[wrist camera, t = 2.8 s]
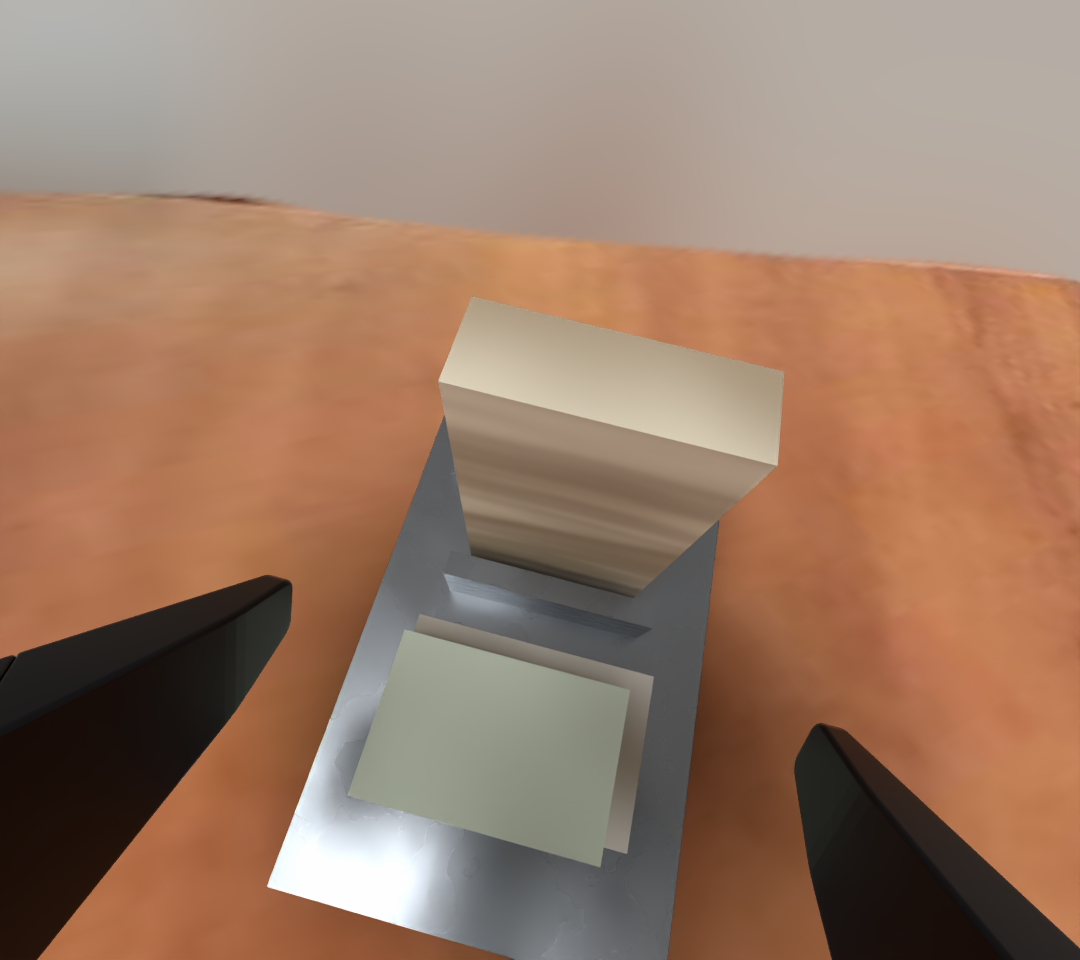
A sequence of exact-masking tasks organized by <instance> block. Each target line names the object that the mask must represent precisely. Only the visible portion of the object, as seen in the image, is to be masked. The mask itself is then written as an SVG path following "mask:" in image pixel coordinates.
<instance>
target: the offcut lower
mask: <svg viewBox="0 0 1080 960" xmlns="http://www.w3.org/2000/svg"><path fill="white" fill-rule="evenodd" d="M414 632H416V633H420V634H424V635H427V636H431V637H435V638H438V639H442V640H446V641H450V642H453V643H457V644H461V645H464V646H468V647H472V648H476V649H479V650H483V651H487V652H490V653H494V654H498V655H502V656H505V657H509V658H513V659H516V660H520V661H524V662H528V663H531V664H535V665H539V666H542V667H546V668H550V669H554V670H557V671H561V672H565V673H568V674H572V675H576V676H580V677H583V678H587V679H591V680H594V681H598V682H602V683H606V684H609V685H613V686H617V687H620V688H624V689H628V690H630V694H629V700H628V706H627V712H626V718H625V723H624V729H623V735H622V741H621V747H620V753H619V759H618V765H617V771H616V777H615V783H614V789H613V795H612V801H611V807H610V813H609V819H608V825H607V831H606V837H605V843H604V848H607V849H611V850H615V851H618V852H622V853H625V854H627V851H628V844H629V837H630V831H631V824H632V818H633V811H634V804H635V798H636V791H637V785H638V778H639V772H640V765H641V758H642V752H643V745H644V739H645V732H646V726H647V719H648V712H649V706H650V699H651V693H652V686H653V679H654V677H653V676H650V675H646V674H642V673H638V672H635V671H631V670H627V669H623V668H620V667H616V666H612V665H608V664H605V663H601V662H597V661H594V660H590V659H586V658H582V657H579V656H575V655H571V654H567V653H564V652H560V651H556V650H552V649H549V648H545V647H541V646H538V645H534V644H530V643H526V642H523V641H519V640H515V639H511V638H508V637H504V636H500V635H496V634H493V633H489V632H485V631H481V630H478V629H474V628H470V627H467V626H463V625H459V624H455V623H452V622H448V621H444V620H440V619H437V618H433V617H429V616H425V615H422V614H419V617H418V620H417V623H416V626H415V629H414Z"/></svg>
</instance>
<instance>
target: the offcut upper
mask: <svg viewBox="0 0 1080 960" xmlns="http://www.w3.org/2000/svg"><path fill="white" fill-rule="evenodd" d="M629 694H630V690H628V689H624V688H620V687H617V686H613V685H609V684H606V683H602V682H598V681H594V680H591V679H587V678H583V677H580V676H576V675H572V674H568V673H565V672H561V671H557V670H554V669H550V668H546V667H542V666H539V665H535V664H531V663H528V662H524V661H520V660H516V659H513V658H509V657H505V656H502V655H498V654H494V653H490V652H487V651H483V650H479V649H476V648H472V647H468V646H464V645H461V644H457V643H453V642H450V641H446V640H442V639H438V638H435V637H431V636H427V635H424V634H420V633H416V632H412V631H409V630H404V633H403V636H402V638H401V641H400V644H399V647H398V650H397V653H396V656H395V659H394V662H393V664H392V667H391V670H390V673H389V676H388V679H387V682H386V685H385V688H384V691H383V693H382V696H381V699H380V702H379V705H378V708H377V711H376V714H375V717H374V719H373V722H372V725H371V728H370V731H369V734H368V737H367V740H366V743H365V746H364V748H363V751H362V754H361V757H360V760H359V763H358V766H357V769H356V772H355V774H354V777H353V780H352V783H351V786H350V789H349V792H348V795H347V796H350V797H354V798H358V799H361V800H365V801H368V802H372V803H375V804H379V805H382V806H386V807H389V808H393V809H396V810H400V811H403V812H407V813H410V814H414V815H417V816H421V817H424V818H428V819H432V820H435V821H439V822H442V823H446V824H449V825H453V826H456V827H460V828H463V829H467V830H470V831H474V832H477V833H481V834H484V835H488V836H491V837H495V838H498V839H502V840H506V841H509V842H513V843H516V844H520V845H523V846H527V847H530V848H534V849H537V850H541V851H544V852H548V853H551V854H555V855H558V856H562V857H565V858H569V859H572V860H576V861H580V862H583V863H587V864H590V865H594V866H597V867H601V861H602V855H603V849H604V843H605V837H606V831H607V825H608V819H609V813H610V807H611V801H612V795H613V789H614V783H615V777H616V771H617V765H618V759H619V753H620V747H621V741H622V735H623V729H624V723H625V718H626V712H627V706H628V700H629Z"/></svg>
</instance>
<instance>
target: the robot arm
mask: <svg viewBox="0 0 1080 960" xmlns="http://www.w3.org/2000/svg"><path fill="white" fill-rule="evenodd" d="M291 606H292V584H291V582H290V581H289V580H287V579H283V578H279V577H276V576H272V575H264V576H261V577H258V578H255V579H251V580H248V581H245V582H242V583H239V584H236V585H233V586H229V587H226V588H223V589H220V590H217V591H214V592H210V593H207V594H204V595H201V596H198V597H195V598H191V599H188V600H185V601H182V602H179V603H176V604H172V605H169V606H166V607H163V608H160V609H157V610H153V611H150V612H147V613H144V614H141V615H138V616H134V617H131V618H128V619H125V620H122V621H119V622H115V623H112V624H109V625H106V626H103V627H100V628H96V629H93V630H90V631H87V632H84V633H81V634H77V635H74V636H71V637H68V638H65V639H62V640H58V641H55V642H52V643H49V644H46V645H43V646H39V647H36V648H33V649H30V650H27V651H24V652H21V653H19V654H18V655H17V656H16V657H15V656H13V655H11V656H7V657H4V658H1V659H0V960H37V959H38V958H39V957H40V955H41V954H42V953H43V952H44V950H45V949H46V948H47V947H48V945H49V944H50V943H51V942H52V940H53V939H54V938H55V937H56V935H57V934H58V933H59V932H60V930H61V929H62V928H63V927H64V925H65V924H66V923H67V922H68V920H69V919H70V918H71V917H72V915H73V914H74V913H75V912H76V910H77V909H78V908H79V907H80V905H81V904H82V903H83V902H84V900H85V899H86V898H87V897H88V895H89V894H90V893H91V892H92V890H93V889H94V888H95V887H96V885H97V884H98V883H99V882H100V880H101V879H102V878H103V877H104V875H105V874H106V873H107V872H108V870H109V869H110V868H111V867H112V865H113V864H114V863H115V862H116V860H117V859H118V858H119V857H120V855H121V854H122V853H123V852H124V850H125V849H126V848H127V847H128V845H129V844H130V843H131V842H132V841H133V839H134V838H135V837H136V836H137V834H138V833H139V832H140V831H141V829H142V828H143V827H144V826H145V824H146V823H147V822H148V821H149V819H150V818H151V817H152V816H153V814H154V813H155V812H156V811H157V809H158V808H159V807H160V806H161V804H162V803H163V802H164V801H165V799H166V798H167V797H168V796H169V794H170V793H171V792H172V791H173V789H174V788H175V787H176V786H177V784H178V783H179V782H180V781H181V779H182V778H183V777H184V776H185V774H186V773H187V772H188V771H189V769H190V768H191V767H192V766H193V764H194V763H195V762H196V761H197V759H198V758H199V757H200V756H201V754H202V753H203V752H204V751H205V749H206V748H207V747H208V746H209V744H210V743H211V742H212V741H213V739H214V738H215V737H216V736H217V734H218V733H219V732H220V731H221V729H222V728H223V727H224V726H225V724H226V723H227V722H228V720H229V719H230V718H231V716H232V715H233V714H234V713H235V711H236V710H237V708H238V707H239V705H240V704H241V702H242V701H243V700H244V698H245V696H246V695H247V693H248V692H249V690H250V689H251V687H252V686H253V684H254V683H255V681H256V679H257V678H258V676H259V675H260V673H261V672H262V670H263V669H264V667H265V665H266V664H267V662H268V661H269V659H270V658H271V656H272V655H273V653H274V652H275V650H276V648H277V647H278V645H279V644H280V642H281V641H282V639H283V638H284V636H285V634H286V633H287V630H288V628H289V625H290V621H291ZM794 773H795V780H796V787H797V793H798V800H799V806H800V813H801V820H802V826H803V833H804V839H805V846H806V852H807V858H808V864H809V869H810V874H811V878H812V883H813V887H814V891H815V895H816V899H817V903H818V907H819V911H820V915H821V919H822V923H823V927H824V931H825V935H826V939H827V942H828V946H829V950H830V954H831V958H832V960H1080V948H1079V947H1078V946H1077V945H1076V944H1075V943H1074V942H1073V941H1071V940H1070V939H1069V938H1068V937H1067V936H1066V935H1065V934H1064V933H1063V932H1062V931H1061V930H1060V929H1059V928H1057V927H1056V926H1055V925H1054V924H1053V923H1052V922H1051V921H1050V920H1049V919H1048V918H1047V917H1046V916H1045V915H1043V914H1042V913H1041V912H1040V911H1039V910H1038V909H1037V908H1036V907H1035V906H1034V905H1033V904H1032V903H1031V902H1030V901H1028V900H1027V899H1026V898H1025V897H1024V896H1023V895H1022V894H1021V893H1020V892H1019V891H1018V890H1017V889H1016V888H1014V887H1013V886H1012V885H1011V884H1010V883H1009V882H1008V881H1007V880H1006V879H1005V878H1004V877H1003V876H1002V875H1000V874H999V873H998V872H997V871H996V870H995V869H994V868H993V867H992V866H991V865H990V864H989V863H988V862H987V861H985V860H984V859H983V858H982V857H981V856H980V855H979V854H978V853H977V852H976V851H975V850H974V849H973V848H971V847H970V846H969V845H968V844H967V843H966V842H965V841H964V840H963V839H962V838H961V837H960V836H959V835H957V834H956V833H955V832H954V831H953V830H952V829H951V828H950V827H949V826H948V825H947V824H946V823H945V822H944V821H942V820H941V819H940V818H939V817H938V816H937V815H936V814H935V813H934V812H933V811H932V810H931V809H930V808H928V807H927V806H926V805H925V804H924V803H923V802H922V801H921V800H920V799H919V798H918V797H917V796H916V795H915V794H913V793H912V792H911V791H910V790H909V789H908V788H907V787H906V786H905V785H904V784H903V783H902V782H901V781H899V780H898V779H897V778H896V777H895V776H894V775H893V774H892V773H891V772H890V771H889V770H888V769H887V768H886V767H884V766H883V765H882V764H881V763H880V762H879V761H878V760H877V759H876V758H875V757H874V756H873V755H872V754H870V753H869V752H868V751H867V750H866V749H865V748H864V747H863V746H862V745H861V744H860V743H859V742H858V741H856V740H855V739H854V738H853V737H852V736H851V735H850V734H849V733H848V732H847V731H845V730H844V729H842V728H838V727H834V726H831V725H827V724H823V723H819V724H816V725H815V726H814V727H813V728H812V730H811V731H810V733H809V735H808V737H807V739H806V741H805V742H804V744H803V746H802V748H801V750H800V752H799V754H798V755H797V758H796V761H795V766H794Z"/></svg>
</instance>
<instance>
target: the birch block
mask: <svg viewBox="0 0 1080 960" xmlns="http://www.w3.org/2000/svg"><path fill="white" fill-rule="evenodd" d="M438 382H439V388H440V393H441V398H442V403H443V409H444V414H445V419H446V425H447V430H448V435H449V440H450V446H451V451H452V456H453V461H454V467H455V472H456V477H457V483H458V488H459V493H460V498H461V504H462V509H463V514H464V520H465V525H466V530H467V535H468V541H469V546H470V551H471V556H475V557H478V558H482V559H486V560H490V561H494V562H497V563H501V564H505V565H509V566H513V567H517V568H520V569H524V570H528V571H532V572H536V573H539V574H543V575H547V576H551V577H555V578H559V579H562V580H566V581H570V582H574V583H578V584H581V585H585V586H589V587H593V588H597V589H600V590H604V591H608V592H612V593H616V594H620V595H623V596H627V597H631V598H634V597H635V596H636V595H637V594H639V593H640V592H641V591H642V590H643V589H644V588H645V587H646V586H647V585H648V584H649V583H650V582H652V581H653V580H654V579H655V578H656V577H657V576H658V575H659V574H660V573H661V572H662V571H664V570H665V569H666V568H667V567H668V566H669V565H670V564H671V563H672V562H673V561H674V560H676V559H677V558H678V557H679V556H680V555H681V554H682V553H683V552H684V551H685V550H686V549H687V548H689V547H690V546H691V545H692V544H693V543H694V542H695V541H696V540H697V539H698V538H699V537H701V536H702V535H703V534H704V533H705V532H706V531H707V530H708V529H709V528H710V527H711V526H713V525H714V524H715V523H716V522H717V521H718V520H719V519H720V518H721V517H722V516H723V515H724V514H726V513H727V512H728V511H729V510H730V509H731V508H732V507H733V506H734V505H735V504H736V503H738V502H739V501H740V500H741V499H742V498H743V497H744V496H745V495H746V494H747V493H748V492H750V491H751V490H752V489H753V488H754V487H755V486H756V485H757V484H758V483H759V482H760V481H761V480H763V479H764V478H765V477H766V476H767V475H768V474H769V473H770V472H771V471H772V470H773V469H775V468H776V467H777V465H778V452H779V438H780V424H781V411H782V397H783V383H784V371H780V370H776V369H771V368H767V367H763V366H759V365H755V364H751V363H747V362H742V361H738V360H734V359H730V358H726V357H722V356H718V355H713V354H709V353H705V352H701V351H697V350H693V349H689V348H684V347H680V346H676V345H672V344H668V343H664V342H660V341H655V340H651V339H647V338H643V337H639V336H635V335H631V334H626V333H622V332H618V331H614V330H610V329H606V328H602V327H598V326H593V325H589V324H585V323H581V322H577V321H573V320H569V319H564V318H560V317H556V316H552V315H548V314H544V313H540V312H535V311H531V310H527V309H523V308H519V307H515V306H511V305H506V304H502V303H498V302H494V301H490V300H486V299H482V298H477V297H473V296H472V297H471V300H470V302H469V305H468V307H467V310H466V312H465V315H464V317H463V320H462V323H461V325H460V328H459V330H458V333H457V335H456V338H455V340H454V343H453V345H452V348H451V351H450V353H449V356H448V358H447V361H446V363H445V366H444V368H443V371H442V373H441V376H440V378H439V381H438Z"/></svg>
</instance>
